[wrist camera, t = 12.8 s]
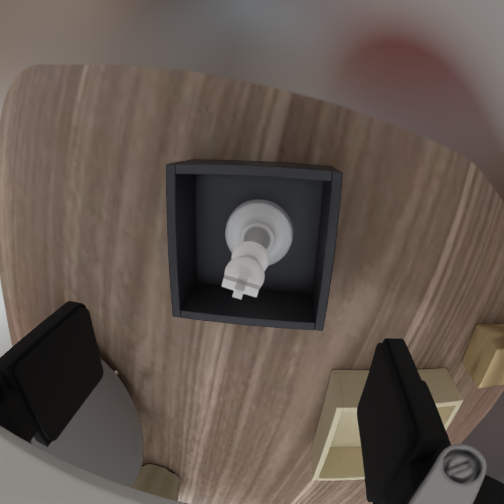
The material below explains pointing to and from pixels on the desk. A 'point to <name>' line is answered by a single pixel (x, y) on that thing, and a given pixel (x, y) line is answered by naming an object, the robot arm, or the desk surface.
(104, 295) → the desk surface
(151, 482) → the flower pot
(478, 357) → the maple block
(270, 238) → the chess piece
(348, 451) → the cream bin
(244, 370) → the desk surface
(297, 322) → the charcoal bin
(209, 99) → the desk surface
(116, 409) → the alarm clock
